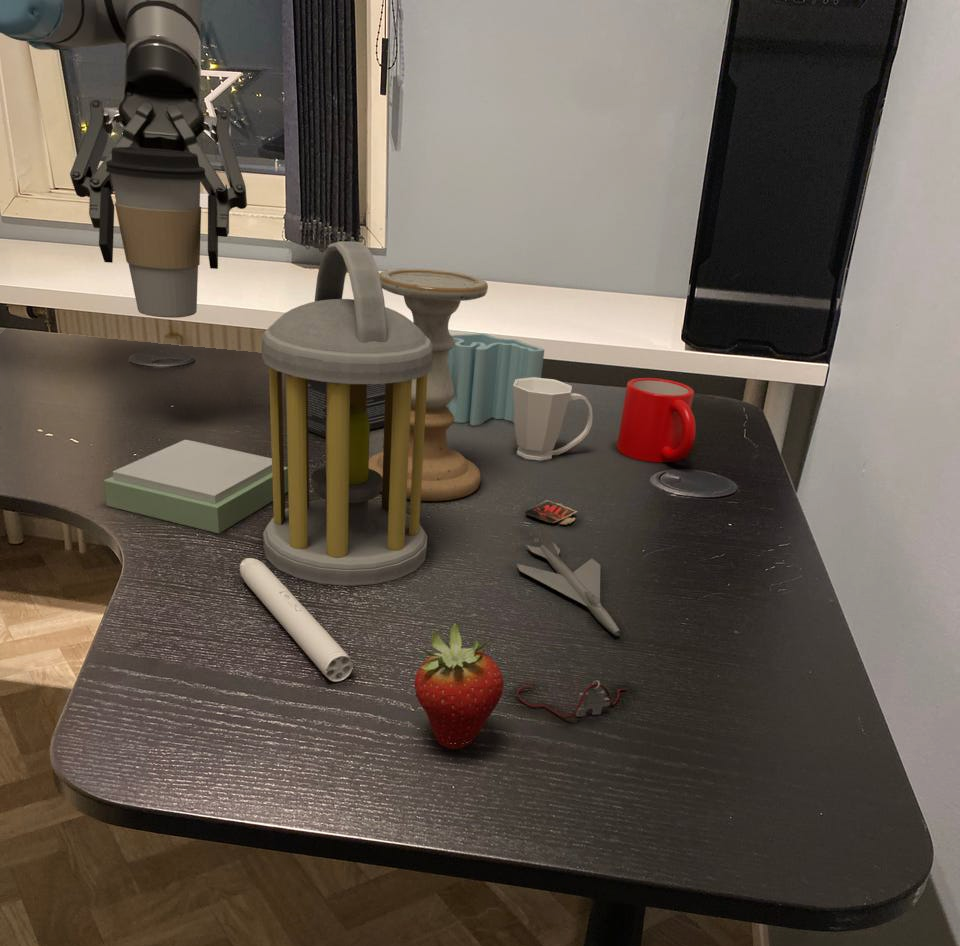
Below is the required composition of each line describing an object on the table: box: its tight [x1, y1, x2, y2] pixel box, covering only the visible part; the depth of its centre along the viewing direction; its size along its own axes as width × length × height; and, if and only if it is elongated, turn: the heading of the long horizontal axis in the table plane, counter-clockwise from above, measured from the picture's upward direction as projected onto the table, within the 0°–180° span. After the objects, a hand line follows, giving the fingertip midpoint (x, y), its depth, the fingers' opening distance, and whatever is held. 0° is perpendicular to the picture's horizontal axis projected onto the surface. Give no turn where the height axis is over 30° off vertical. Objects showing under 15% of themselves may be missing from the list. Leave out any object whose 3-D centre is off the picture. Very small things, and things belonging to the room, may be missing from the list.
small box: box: [308, 379, 386, 439], centre depth 107 cm, size 11×6×10 cm, turn 139°
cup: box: [513, 377, 594, 462], centre depth 105 cm, size 7×10×8 cm
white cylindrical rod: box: [239, 557, 354, 683], centre depth 68 cm, size 18×2×2 cm, turn 33°
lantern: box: [261, 241, 433, 587], centre depth 74 cm, size 14×14×25 cm
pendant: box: [516, 680, 627, 719], centre depth 61 cm, size 8×4×3 cm, turn 107°
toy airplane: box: [516, 524, 621, 637], centre depth 78 cm, size 8×21×2 cm, turn 18°
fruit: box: [414, 622, 505, 750], centre depth 55 cm, size 5×5×8 cm
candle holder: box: [369, 268, 489, 502], centre depth 91 cm, size 12×12×20 cm
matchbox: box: [525, 499, 578, 525], centre depth 90 cm, size 5×5×1 cm
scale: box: [103, 439, 288, 534], centre depth 86 cm, size 12×12×3 cm
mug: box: [616, 377, 697, 463], centre depth 108 cm, size 8×12×8 cm, turn 24°
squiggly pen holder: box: [446, 333, 545, 427], centre depth 114 cm, size 18×10×9 cm, turn 116°
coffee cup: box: [106, 147, 207, 319], centre depth 92 cm, size 9×9×15 cm
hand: (160, 256), depth 91 cm, fingers closed on coffee cup, 9 cm apart
